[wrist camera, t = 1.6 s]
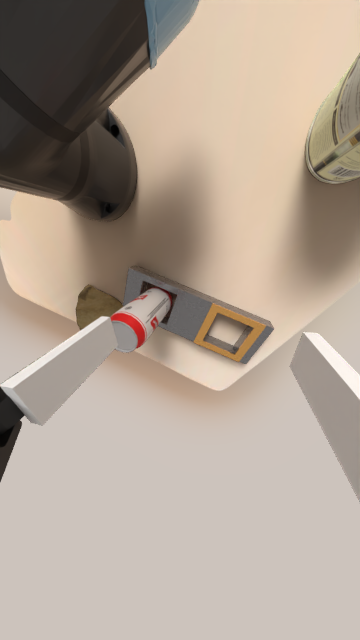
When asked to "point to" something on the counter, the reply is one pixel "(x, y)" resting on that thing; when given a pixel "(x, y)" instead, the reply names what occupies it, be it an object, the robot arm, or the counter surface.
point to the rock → (94, 306)
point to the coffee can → (337, 132)
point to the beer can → (140, 318)
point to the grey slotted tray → (200, 316)
